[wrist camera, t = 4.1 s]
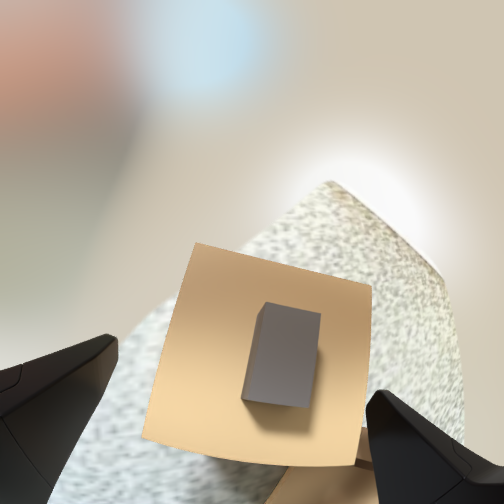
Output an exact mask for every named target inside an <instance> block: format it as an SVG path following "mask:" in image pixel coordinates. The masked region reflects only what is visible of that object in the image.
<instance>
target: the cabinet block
mask: <svg viewBox="0 0 504 504" xmlns="http://www.w3.org/2000/svg"><path fill="white" fill-rule="evenodd" d="M371 310H372V286H370V285H366V284H362V283H358V282H354V281H350V280H346V279H342V278H337V277H333V276H329V275H325V274H321V273H317V272H313V271H309V270H305V269H301V268H297V267H293V266H289V265H285V264H281V263H277V262H272V261H268V260H264V259H260V258H256V257H252V256H248V255H244V254H240V253H236V252H232V251H228V250H224V249H220V248H216V247H212V246H208V245H204V244H200V243H195V246H194V249H193V252H192V255H191V258H190V261H189V264H188V267H187V270H186V273H185V276H184V279H183V282H182V285H181V288H180V292H179V295H178V298H177V301H176V305H175V308H174V311H173V315H172V318H171V321H170V325H169V328H168V332H167V335H166V339H165V343H164V346H163V350H162V353H161V357H160V361H159V365H158V369H157V372H156V376H155V380H154V384H153V388H152V392H151V397H150V401H149V405H148V409H147V414H146V418H145V423H144V427H143V432H142V437H141V438H144V439H147V440H150V441H153V442H157V443H160V444H163V445H167V446H170V447H174V448H178V449H181V450H185V451H189V452H194V453H198V454H203V455H207V456H212V457H218V458H223V459H229V460H235V461H242V462H250V463H259V464H269V465H283V466H313V467H317V466H347V465H354V463H355V459H356V454H357V449H358V444H359V438H360V433H361V427H362V420H363V414H364V407H365V399H366V390H367V381H368V370H369V357H370V341H371Z"/></svg>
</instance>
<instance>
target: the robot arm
mask: <svg viewBox="0 0 504 504" xmlns="http://www.w3.org/2000/svg"><path fill="white" fill-rule="evenodd" d="M117 361H118V339H117V338H116V337H115V336H112V335H109V334H103V335H101V336H98V337H95V338H92V339H90V340H87V341H84V342H82V343H79V344H76V345H73V346H71V347H68V348H65V349H62V350H59V351H57V352H54V353H51V354H48V355H45V356H43V357H40V358H37V359H34V360H31V361H28V362H25V363H23V364H19V365H16V366H14V367H11V368H7V369H4V370H0V504H47V502H48V500H49V497H50V495H51V493H52V491H53V489H54V487H55V484H56V482H57V480H58V478H59V476H60V474H61V472H62V470H63V468H64V466H65V464H66V462H67V460H68V459H69V457H70V455H71V453H72V451H73V449H74V447H75V445H76V443H77V441H78V440H79V438H80V436H81V434H82V432H83V430H84V429H85V427H86V425H87V423H88V421H89V420H90V418H91V416H92V414H93V413H94V411H95V409H96V407H97V406H98V404H99V402H100V400H101V398H102V396H103V394H104V392H105V389H106V387H107V385H108V382H109V380H110V378H111V375H112V373H113V371H114V369H115V366H116V364H117ZM366 420H367V430H368V441H369V448H370V453H371V458H372V464H373V469H374V475H375V481H376V487H377V494H378V501H379V504H504V466H498V465H495V464H493V463H491V462H489V461H487V460H486V459H484V458H482V457H481V456H479V455H477V454H475V453H474V452H472V451H471V450H469V449H467V448H466V447H464V446H463V445H461V444H460V443H458V442H457V441H456V440H454V439H453V438H451V437H450V436H449V435H447V434H446V433H445V432H443V431H442V430H440V429H439V428H438V427H436V426H435V425H434V424H432V423H431V422H430V421H428V420H427V419H426V418H424V417H423V416H422V415H420V414H419V413H418V412H416V411H415V410H414V409H412V408H411V407H410V406H408V405H407V404H406V403H404V402H403V401H402V400H400V399H399V398H398V397H396V396H395V395H394V394H392V393H391V392H390V391H388V390H377V391H376V392H375V393H374V395H373V396H372V398H371V399H370V401H369V402H368V404H367V406H366Z"/></svg>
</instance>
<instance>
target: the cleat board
mask: <svg viewBox="0 0 504 504" xmlns="http://www.w3.org/2000/svg"><path fill="white" fill-rule="evenodd" d="M264 504H379V501H378V494H377V487H376V481H375V475H374V469H373V464H372V458H371V453H370V448H369V441H368V430H367V428H365V427H361V433H360V438H359V444H358V449H357V454H356V459H355V463H354V465H347V466H317V467H313V466H289V467H288V469H287V470H286V472H285V474H284V475H283V477H282V478H281V480H280V481H279V483H278V484H277V486H276V487H275V489H274V490H273V492H272V493H271V495H270V496H269V498H268V499H267V500H266V502H265V503H264Z"/></svg>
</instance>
